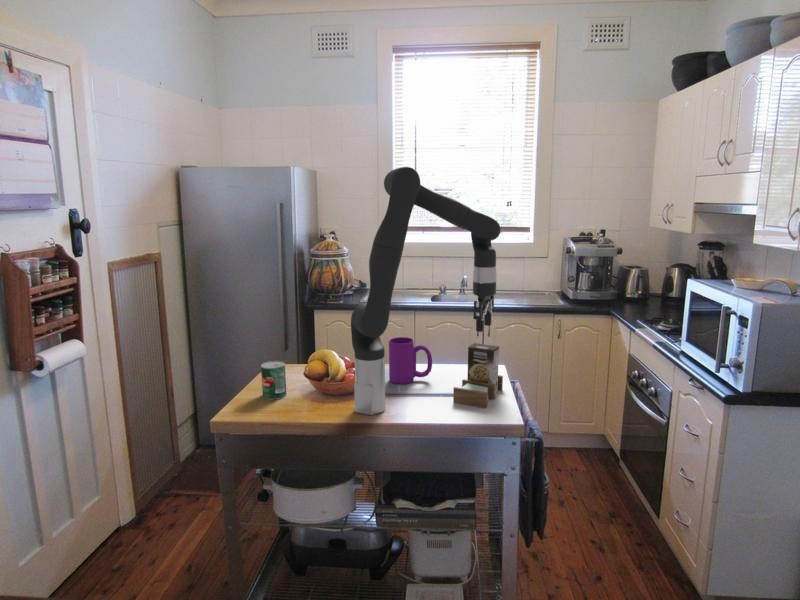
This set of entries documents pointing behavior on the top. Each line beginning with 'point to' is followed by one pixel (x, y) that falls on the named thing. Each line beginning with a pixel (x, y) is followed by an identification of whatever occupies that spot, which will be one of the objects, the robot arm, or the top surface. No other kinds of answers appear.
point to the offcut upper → (475, 387)
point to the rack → (476, 393)
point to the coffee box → (483, 363)
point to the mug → (405, 360)
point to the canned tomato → (273, 380)
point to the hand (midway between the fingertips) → (483, 328)
